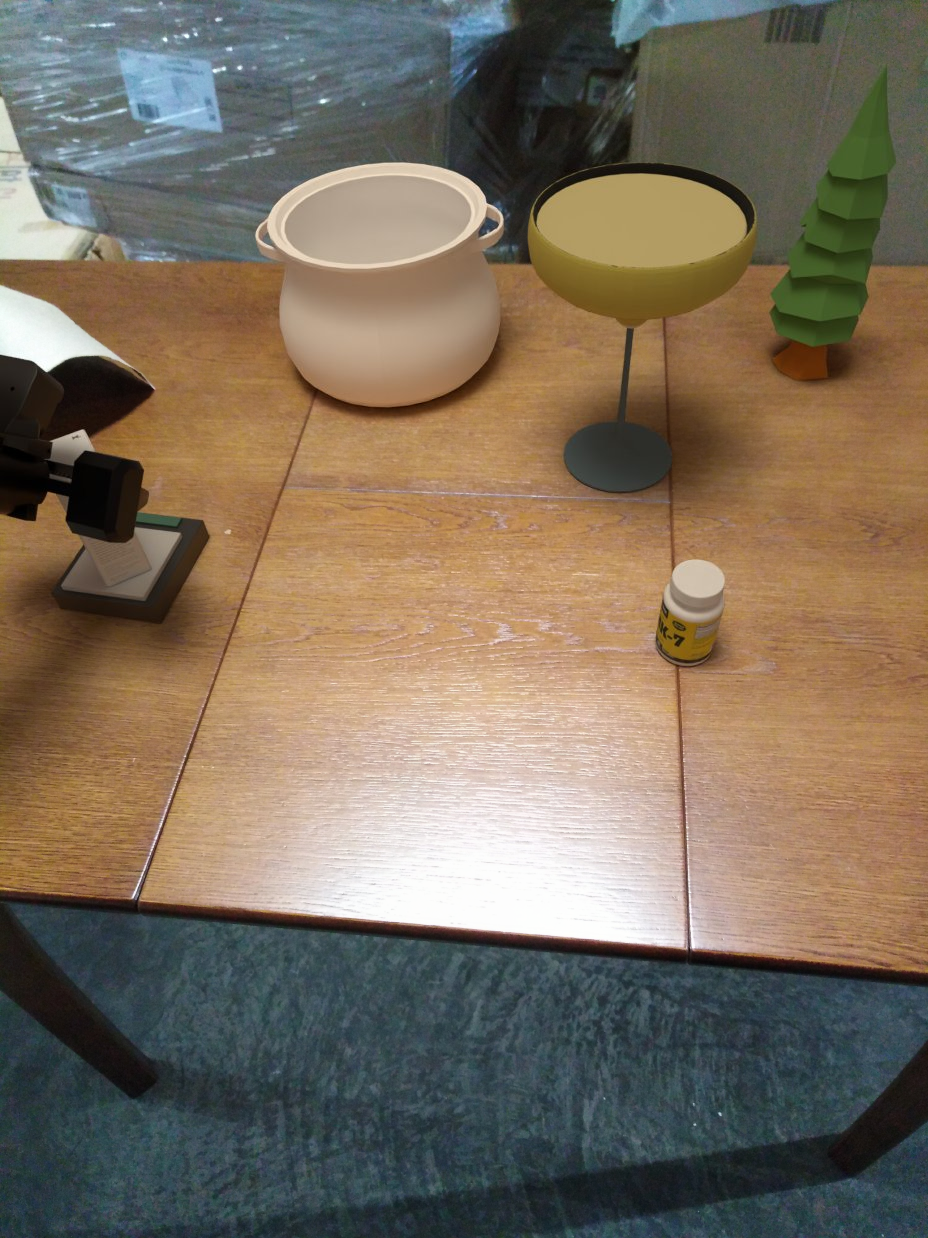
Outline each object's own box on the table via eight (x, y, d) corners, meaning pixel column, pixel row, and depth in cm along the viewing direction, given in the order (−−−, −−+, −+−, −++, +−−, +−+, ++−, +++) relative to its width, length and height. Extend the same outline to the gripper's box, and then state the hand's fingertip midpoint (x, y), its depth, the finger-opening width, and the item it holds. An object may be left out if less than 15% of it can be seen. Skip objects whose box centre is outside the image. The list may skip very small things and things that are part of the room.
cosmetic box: (88, 548, 82) (32, 445, 72) (133, 530, 83) (84, 426, 74) (106, 590, 78) (50, 487, 69) (153, 570, 79) (104, 466, 70)
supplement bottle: (643, 635, 75) (654, 567, 69) (691, 615, 76) (706, 546, 70) (675, 676, 72) (690, 609, 66) (724, 655, 73) (743, 587, 67)
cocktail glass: (696, 399, 95) (739, 155, 76) (722, 517, 84) (780, 265, 64) (526, 403, 96) (526, 164, 77) (528, 520, 85) (529, 274, 66)
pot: (504, 293, 111) (501, 151, 98) (508, 416, 95) (505, 267, 82) (300, 302, 112) (270, 163, 99) (270, 425, 96) (230, 280, 83)
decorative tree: (776, 393, 95) (856, 84, 72) (741, 344, 101) (805, 44, 78) (862, 378, 96) (969, 67, 73) (823, 331, 102) (909, 29, 79)
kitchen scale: (60, 608, 81) (47, 588, 79) (115, 524, 88) (105, 503, 85) (161, 623, 79) (151, 602, 77) (209, 536, 86) (201, 515, 84)
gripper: (77, 372, 57) (212, 410, 72) (-144, 328, 62) (25, 372, 77) (51, 543, 59) (189, 545, 74) (-162, 487, 64) (7, 500, 79)
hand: (101, 486), depth 76 cm, fingers open, 9 cm apart
